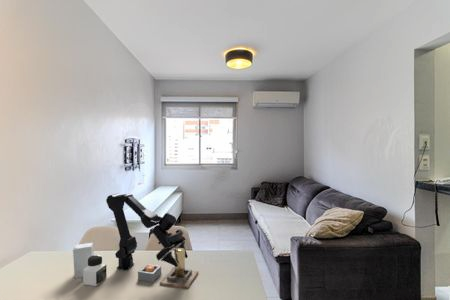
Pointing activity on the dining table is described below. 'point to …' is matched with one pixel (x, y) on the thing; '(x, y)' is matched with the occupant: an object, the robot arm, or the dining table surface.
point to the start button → (150, 268)
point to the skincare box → (81, 258)
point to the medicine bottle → (94, 271)
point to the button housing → (149, 273)
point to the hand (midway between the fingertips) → (182, 261)
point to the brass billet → (179, 262)
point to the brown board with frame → (179, 279)
